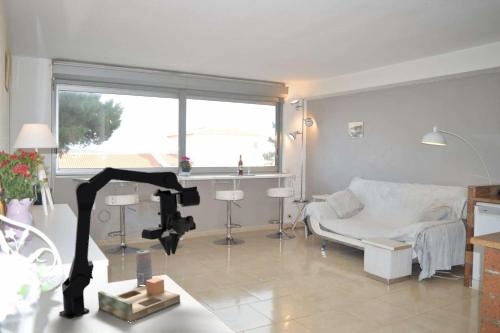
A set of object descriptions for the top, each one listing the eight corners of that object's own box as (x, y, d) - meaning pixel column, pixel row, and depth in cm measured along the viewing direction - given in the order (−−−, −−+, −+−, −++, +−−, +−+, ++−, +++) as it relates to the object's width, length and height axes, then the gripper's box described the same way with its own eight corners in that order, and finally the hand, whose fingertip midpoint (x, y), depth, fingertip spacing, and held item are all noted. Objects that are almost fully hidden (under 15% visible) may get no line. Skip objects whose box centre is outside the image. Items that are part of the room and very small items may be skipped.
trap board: (98, 309, 122) (97, 291, 122) (148, 291, 136) (147, 275, 135) (130, 323, 111) (129, 304, 111) (180, 302, 125) (179, 285, 124)
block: (146, 292, 127) (145, 280, 127) (156, 289, 130) (156, 277, 130) (154, 295, 125) (153, 282, 125) (164, 291, 128) (163, 279, 128)
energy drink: (148, 280, 147) (146, 248, 147) (155, 283, 143) (153, 250, 143) (134, 284, 144) (132, 251, 143) (141, 287, 140) (139, 254, 139)
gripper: (160, 214, 119) (163, 265, 120) (205, 206, 134) (208, 251, 134) (139, 212, 127) (142, 260, 127) (184, 204, 141) (186, 247, 142)
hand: (171, 254), depth 132 cm, fingers closed
